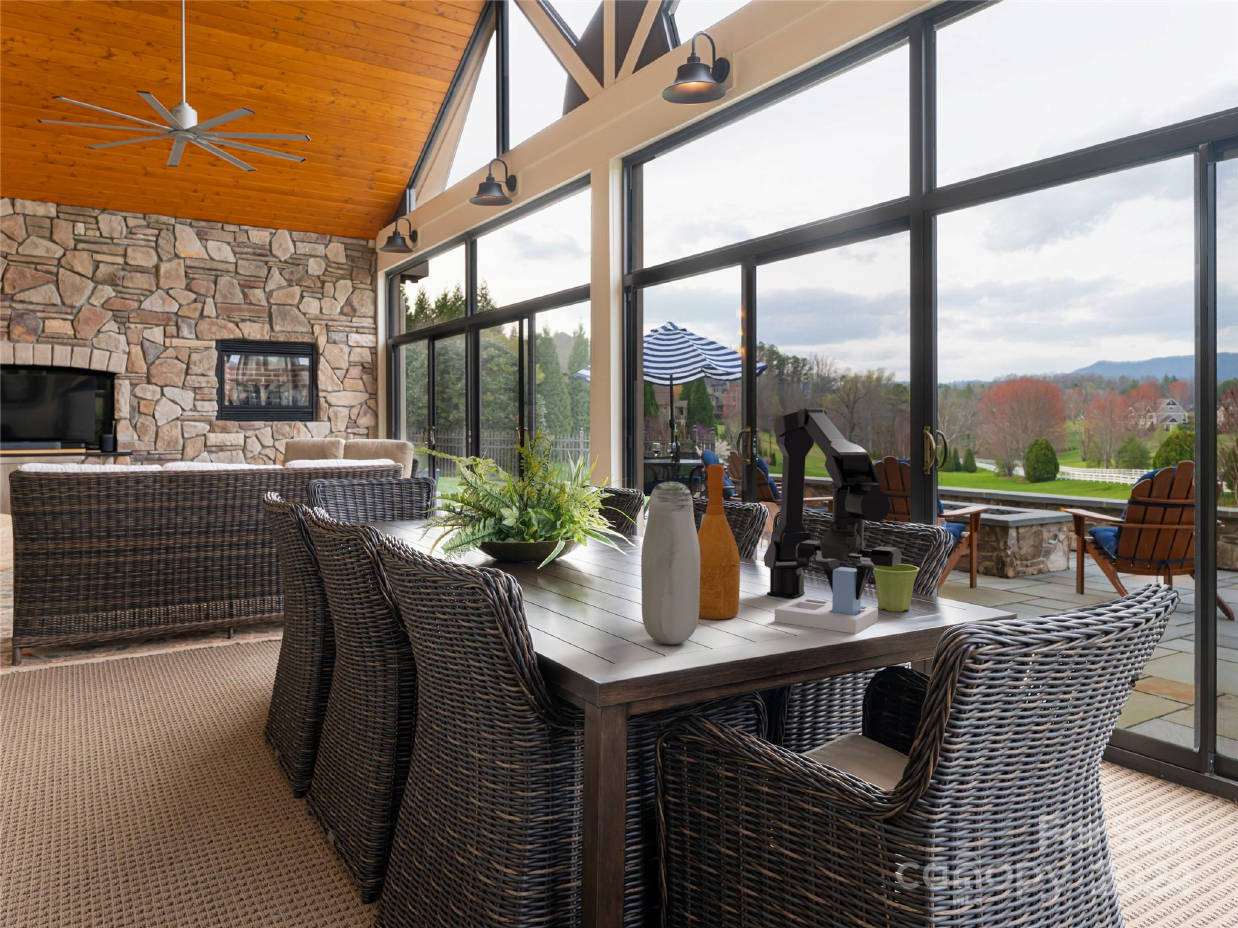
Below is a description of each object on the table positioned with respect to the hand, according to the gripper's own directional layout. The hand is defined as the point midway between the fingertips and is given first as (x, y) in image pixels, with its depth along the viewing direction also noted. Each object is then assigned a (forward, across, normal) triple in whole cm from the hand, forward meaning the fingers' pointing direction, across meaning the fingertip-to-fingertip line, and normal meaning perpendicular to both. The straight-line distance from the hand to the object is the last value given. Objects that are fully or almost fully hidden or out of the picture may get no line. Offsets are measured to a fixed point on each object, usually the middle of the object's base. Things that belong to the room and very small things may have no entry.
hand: (846, 598), depth 163 cm
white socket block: (+5, -4, 0) cm, 6 cm away
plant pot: (+5, +3, +19) cm, 20 cm away
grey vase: (+5, -20, -31) cm, 37 cm away
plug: (+4, 0, 0) cm, 4 cm away
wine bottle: (+5, -24, -8) cm, 26 cm away
